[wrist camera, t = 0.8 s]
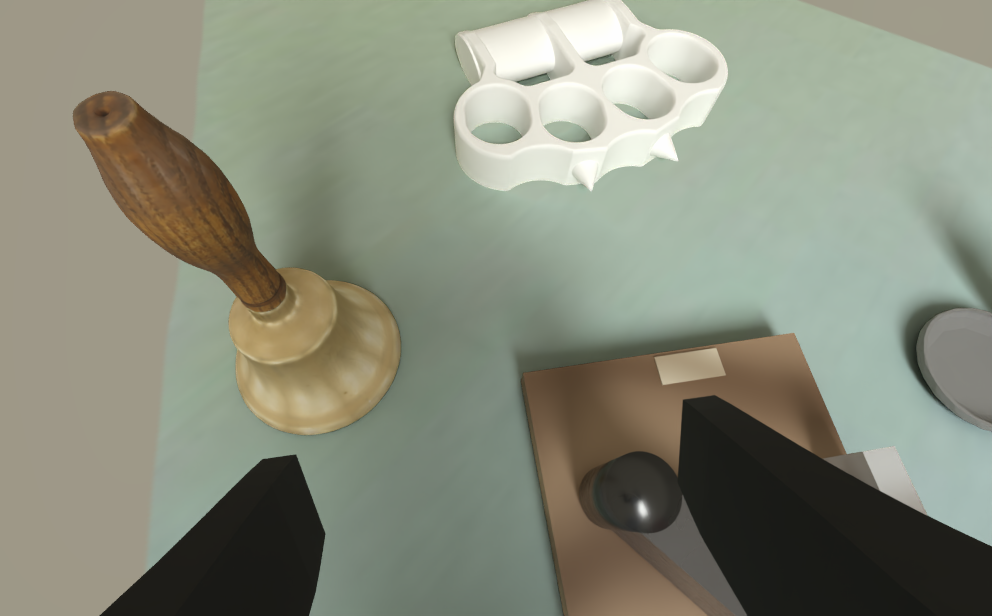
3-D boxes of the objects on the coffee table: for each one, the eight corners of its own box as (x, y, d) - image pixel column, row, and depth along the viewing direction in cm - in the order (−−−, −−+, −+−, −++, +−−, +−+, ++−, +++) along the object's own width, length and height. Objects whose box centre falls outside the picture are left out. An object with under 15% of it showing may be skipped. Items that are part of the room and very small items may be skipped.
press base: (957, 775, 19) (1093, 850, 14) (609, 861, 17) (648, 968, 13) (777, 342, 26) (834, 309, 21) (520, 381, 24) (528, 353, 20)
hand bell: (307, 257, 27) (103, -51, 12) (431, 327, 25) (365, 71, 11) (202, 381, 24) (-235, 168, 9) (335, 468, 22) (64, 378, 8)
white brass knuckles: (635, 13, 37) (746, 152, 31) (412, 75, 33) (495, 241, 28) (649, -33, 34) (775, 112, 28) (406, 30, 30) (497, 207, 25)
